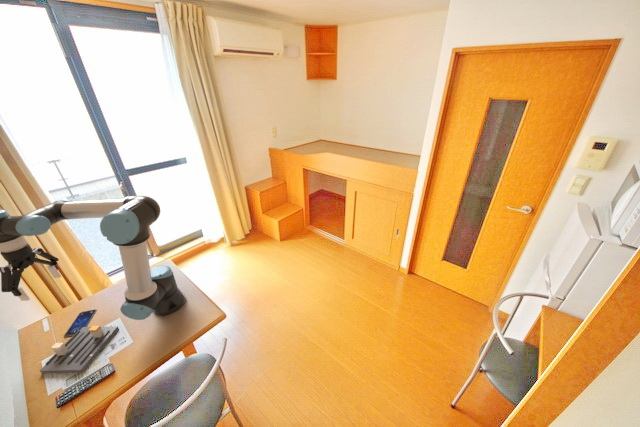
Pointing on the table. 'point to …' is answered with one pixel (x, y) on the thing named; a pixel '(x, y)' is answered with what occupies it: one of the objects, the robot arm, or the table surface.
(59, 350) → the fader
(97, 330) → the block
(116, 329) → the console
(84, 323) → the smartphone
